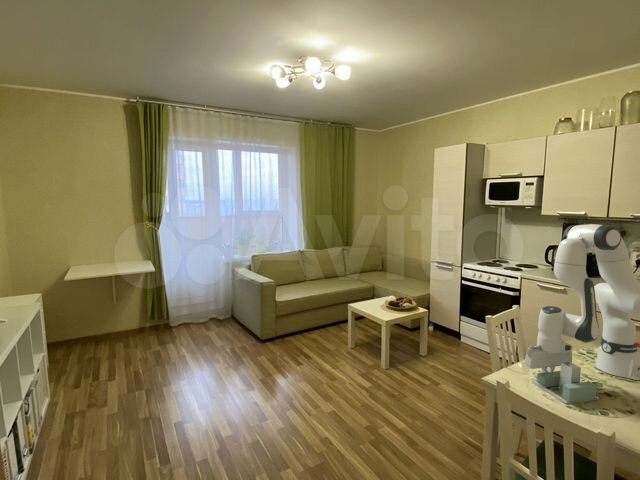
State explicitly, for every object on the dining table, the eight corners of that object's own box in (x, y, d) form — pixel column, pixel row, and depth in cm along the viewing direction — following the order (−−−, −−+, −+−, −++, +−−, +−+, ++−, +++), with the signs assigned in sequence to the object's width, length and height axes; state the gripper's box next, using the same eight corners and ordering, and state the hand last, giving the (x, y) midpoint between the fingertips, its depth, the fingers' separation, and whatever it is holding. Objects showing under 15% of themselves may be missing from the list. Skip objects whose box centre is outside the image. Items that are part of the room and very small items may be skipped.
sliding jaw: (560, 379, 147) (561, 370, 147) (569, 384, 143) (569, 375, 143) (536, 382, 145) (537, 373, 145) (544, 387, 141) (544, 378, 141)
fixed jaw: (563, 379, 148) (563, 365, 147) (599, 399, 132) (600, 384, 132) (532, 382, 145) (533, 369, 145) (565, 404, 130) (566, 389, 129)
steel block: (567, 389, 140) (569, 361, 138) (578, 396, 135) (580, 367, 134) (559, 390, 139) (560, 362, 138) (569, 397, 134) (572, 368, 133)
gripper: (533, 349, 141) (531, 381, 142) (576, 345, 144) (574, 377, 145) (522, 343, 147) (520, 374, 148) (563, 340, 150) (561, 370, 152)
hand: (547, 375), depth 147 cm, fingers closed, pressing on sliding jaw
